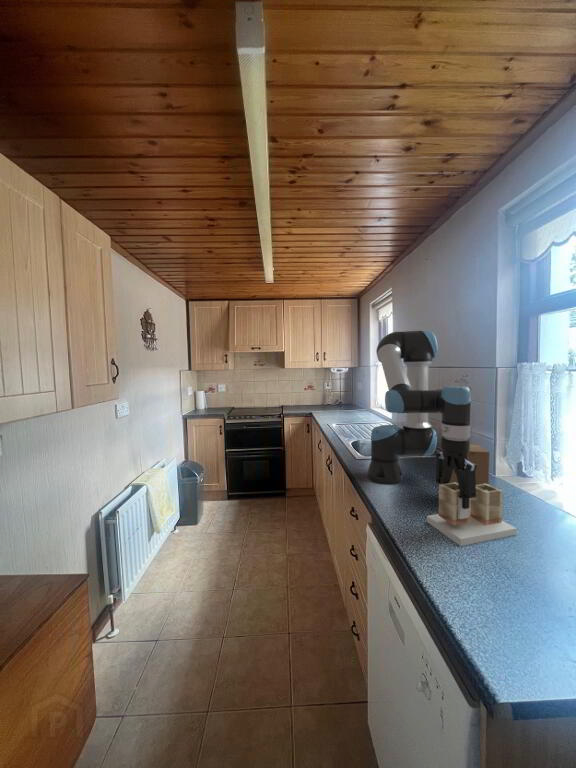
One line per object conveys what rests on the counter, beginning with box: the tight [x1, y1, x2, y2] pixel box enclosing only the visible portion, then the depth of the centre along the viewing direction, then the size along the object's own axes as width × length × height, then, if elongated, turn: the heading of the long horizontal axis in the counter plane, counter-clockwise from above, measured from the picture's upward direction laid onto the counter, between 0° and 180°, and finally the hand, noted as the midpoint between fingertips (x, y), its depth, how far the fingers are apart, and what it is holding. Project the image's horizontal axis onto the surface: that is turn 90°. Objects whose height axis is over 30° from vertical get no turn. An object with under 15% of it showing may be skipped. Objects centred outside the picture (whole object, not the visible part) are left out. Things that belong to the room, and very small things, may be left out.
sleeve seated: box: [470, 484, 504, 525], centre depth 99 cm, size 6×6×10 cm
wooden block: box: [449, 443, 490, 485], centre depth 116 cm, size 10×10×20 cm
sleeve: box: [438, 482, 471, 525], centre depth 95 cm, size 6×6×10 cm
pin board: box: [426, 490, 518, 547], centre depth 97 cm, size 14×20×11 cm
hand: (454, 512), depth 96 cm, fingers closed on sleeve, 6 cm apart
